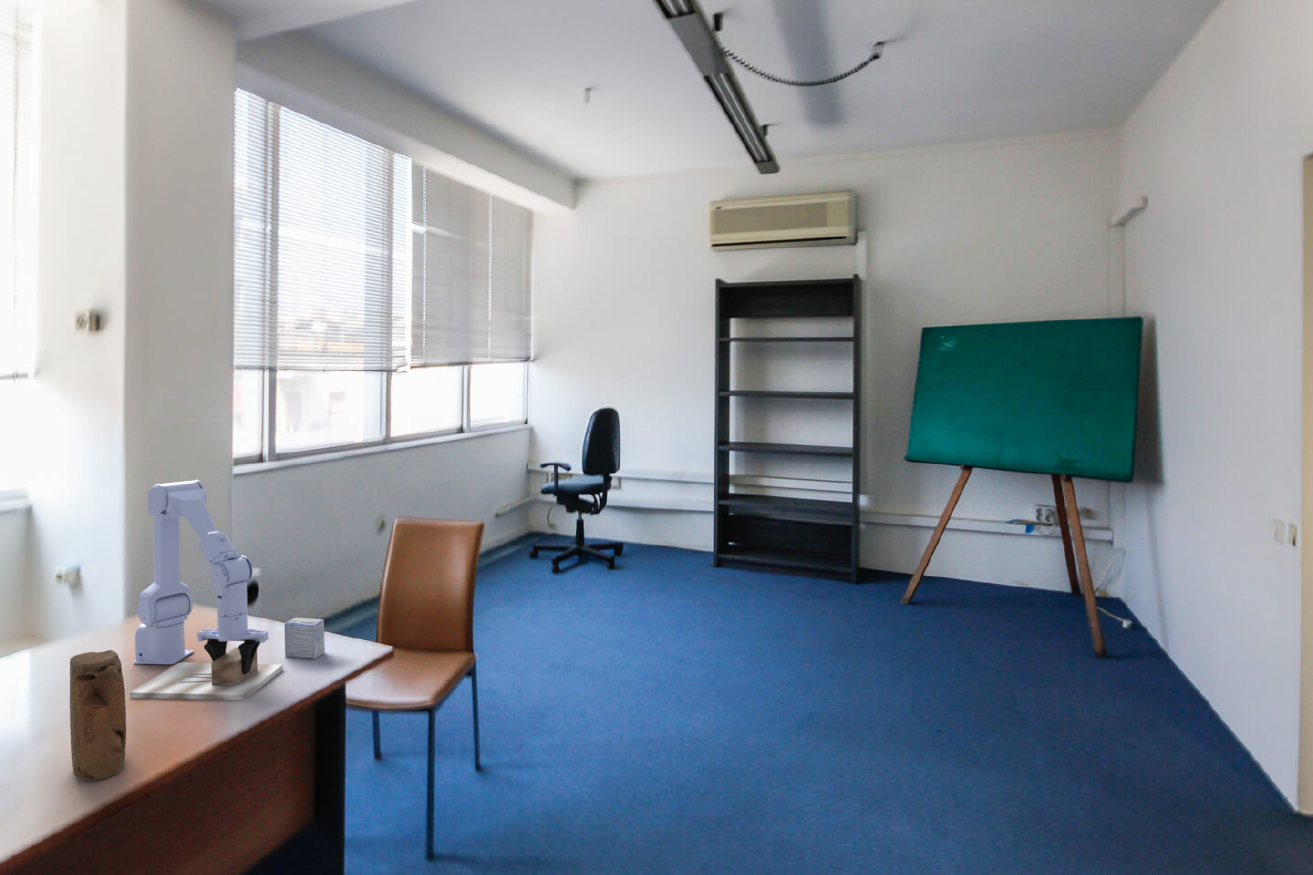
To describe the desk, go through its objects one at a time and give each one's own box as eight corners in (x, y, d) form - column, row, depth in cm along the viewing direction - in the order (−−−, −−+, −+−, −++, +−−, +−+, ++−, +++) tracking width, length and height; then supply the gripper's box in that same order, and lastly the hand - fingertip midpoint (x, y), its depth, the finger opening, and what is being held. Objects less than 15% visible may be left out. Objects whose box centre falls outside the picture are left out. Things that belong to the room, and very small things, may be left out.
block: (71, 762, 127) (66, 652, 125) (123, 749, 132) (120, 643, 130) (74, 790, 119) (69, 672, 117) (130, 774, 124) (126, 662, 122)
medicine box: (325, 652, 179) (325, 618, 179) (315, 659, 175) (314, 624, 174) (295, 650, 180) (294, 616, 179) (284, 657, 176) (283, 622, 175)
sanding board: (129, 697, 152) (129, 691, 152) (179, 667, 168) (178, 662, 168) (244, 700, 153) (244, 694, 152) (282, 669, 169) (282, 664, 168)
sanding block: (211, 685, 156) (211, 662, 156) (235, 668, 165) (235, 647, 165) (235, 685, 156) (234, 663, 156) (257, 669, 165) (257, 647, 165)
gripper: (187, 617, 155) (189, 678, 156) (255, 619, 155) (256, 680, 156) (207, 607, 162) (209, 665, 163) (272, 608, 162) (273, 667, 163)
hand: (233, 672), depth 160 cm, fingers closed on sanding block, 5 cm apart
